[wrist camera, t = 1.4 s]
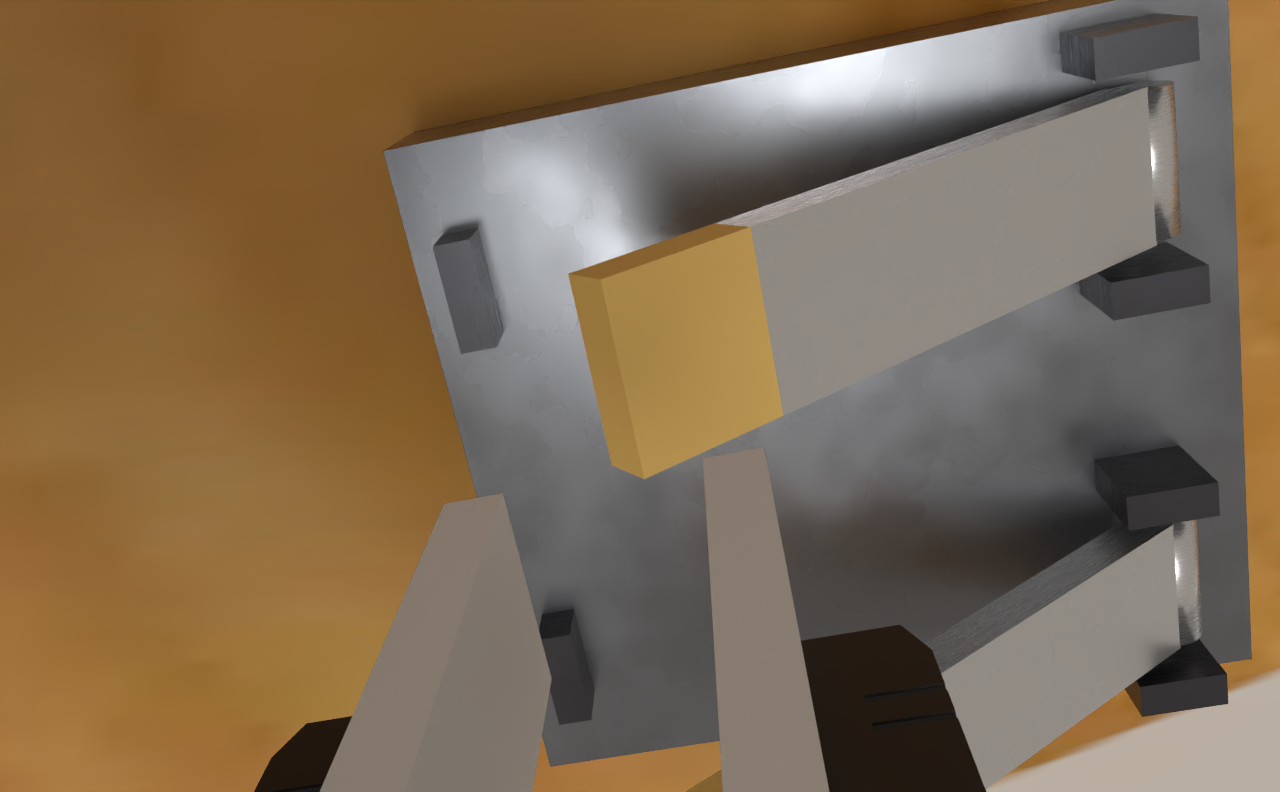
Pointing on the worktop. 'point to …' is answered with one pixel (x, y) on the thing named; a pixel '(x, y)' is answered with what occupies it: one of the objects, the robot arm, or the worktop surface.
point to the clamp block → (865, 411)
